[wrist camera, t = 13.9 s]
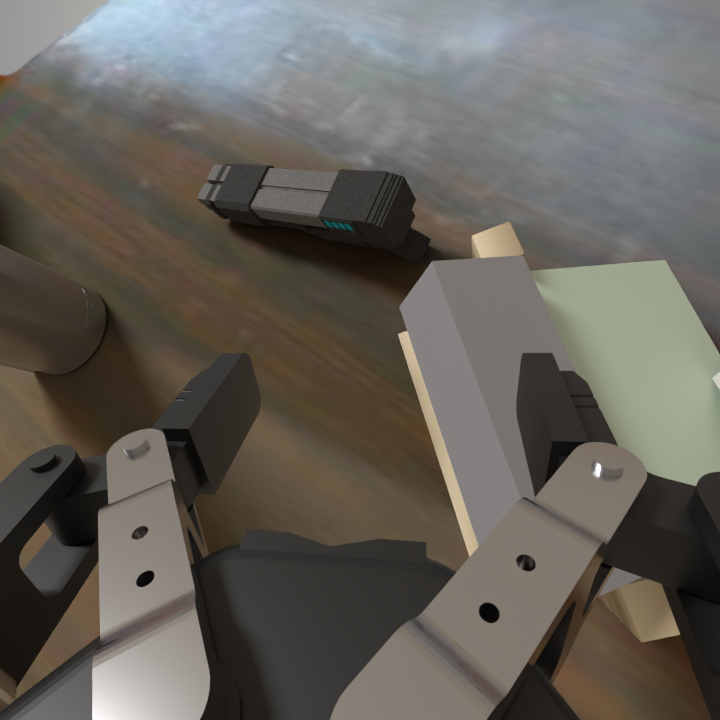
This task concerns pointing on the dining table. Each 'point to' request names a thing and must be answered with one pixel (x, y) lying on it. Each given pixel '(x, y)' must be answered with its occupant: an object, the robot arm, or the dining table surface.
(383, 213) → the gun
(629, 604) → the frame
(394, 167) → the dining table surface
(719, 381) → the grey rectangular block
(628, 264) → the trapdoor
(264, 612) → the robot arm
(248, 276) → the dining table surface
